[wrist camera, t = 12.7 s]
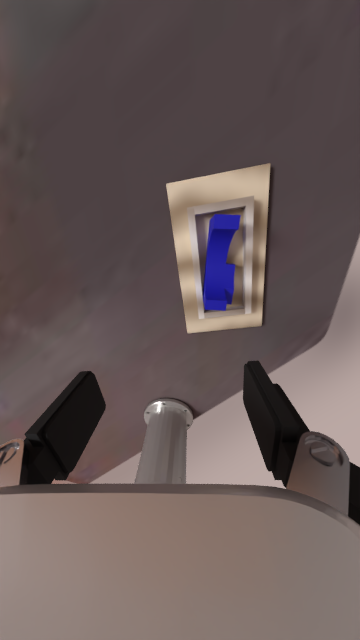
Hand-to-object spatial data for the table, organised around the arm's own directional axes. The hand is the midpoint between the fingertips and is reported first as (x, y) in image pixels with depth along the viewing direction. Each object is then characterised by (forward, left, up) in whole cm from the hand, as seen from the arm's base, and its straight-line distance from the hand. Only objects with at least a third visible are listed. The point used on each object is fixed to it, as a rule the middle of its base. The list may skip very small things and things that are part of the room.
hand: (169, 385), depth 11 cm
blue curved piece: (+4, -7, -22) cm, 23 cm away
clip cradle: (+4, -7, -22) cm, 24 cm away
